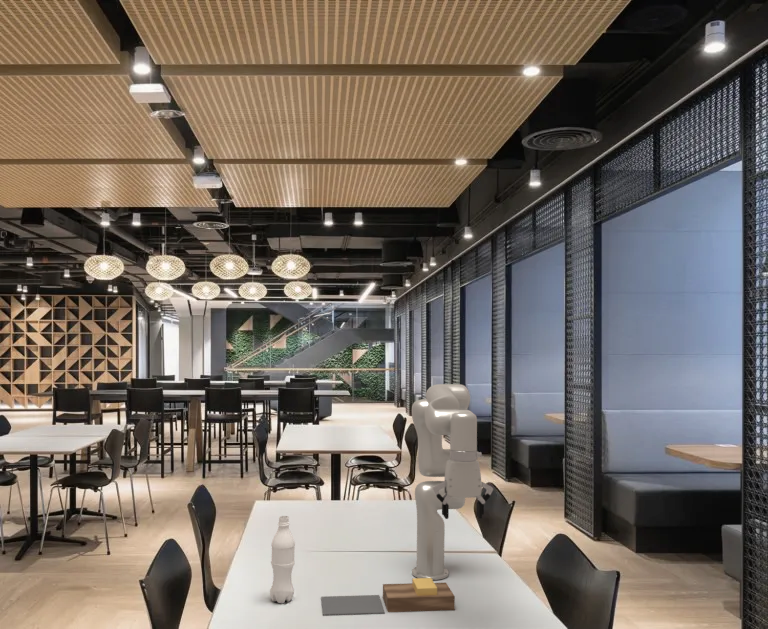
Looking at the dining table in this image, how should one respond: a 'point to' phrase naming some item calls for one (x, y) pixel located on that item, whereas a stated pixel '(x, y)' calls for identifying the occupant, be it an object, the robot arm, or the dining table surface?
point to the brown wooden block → (417, 598)
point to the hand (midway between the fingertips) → (462, 517)
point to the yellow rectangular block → (424, 586)
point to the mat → (352, 605)
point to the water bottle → (282, 562)
